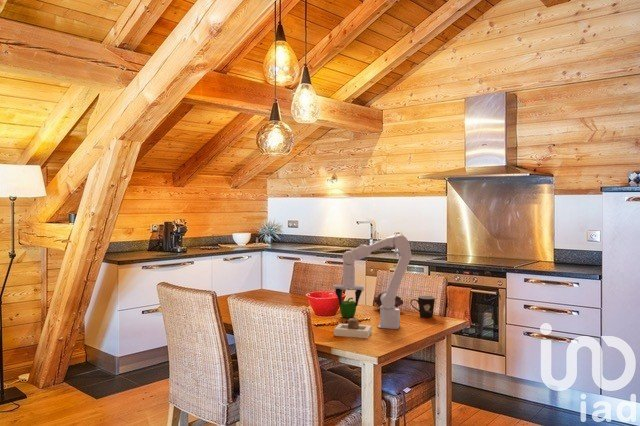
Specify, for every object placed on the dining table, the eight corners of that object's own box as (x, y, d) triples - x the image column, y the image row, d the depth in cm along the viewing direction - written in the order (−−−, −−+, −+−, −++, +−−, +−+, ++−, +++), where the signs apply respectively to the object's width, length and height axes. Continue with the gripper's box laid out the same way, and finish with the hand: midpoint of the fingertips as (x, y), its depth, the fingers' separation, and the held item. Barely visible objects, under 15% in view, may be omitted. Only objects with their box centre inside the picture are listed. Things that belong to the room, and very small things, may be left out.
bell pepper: (337, 318, 265) (337, 298, 264) (342, 314, 272) (342, 295, 272) (353, 319, 262) (353, 299, 261) (358, 316, 269) (358, 296, 269)
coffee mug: (437, 316, 270) (437, 296, 269) (431, 319, 263) (431, 299, 262) (416, 313, 276) (416, 294, 276) (409, 316, 269) (409, 297, 268)
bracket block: (358, 332, 237) (358, 318, 237) (356, 334, 233) (356, 321, 233) (349, 331, 238) (349, 318, 238) (348, 333, 234) (348, 320, 234)
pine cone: (406, 310, 283) (406, 291, 283) (398, 313, 275) (398, 294, 274) (376, 306, 293) (376, 288, 292) (368, 309, 284) (368, 291, 284)
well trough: (371, 332, 238) (371, 325, 238) (367, 338, 229) (367, 331, 229) (339, 329, 242) (339, 323, 242) (334, 335, 233) (334, 328, 233)
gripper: (331, 277, 247) (331, 306, 247) (362, 278, 243) (362, 307, 243) (335, 274, 253) (335, 302, 254) (365, 276, 250) (364, 304, 250)
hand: (348, 305), depth 249 cm, fingers open, 7 cm apart
